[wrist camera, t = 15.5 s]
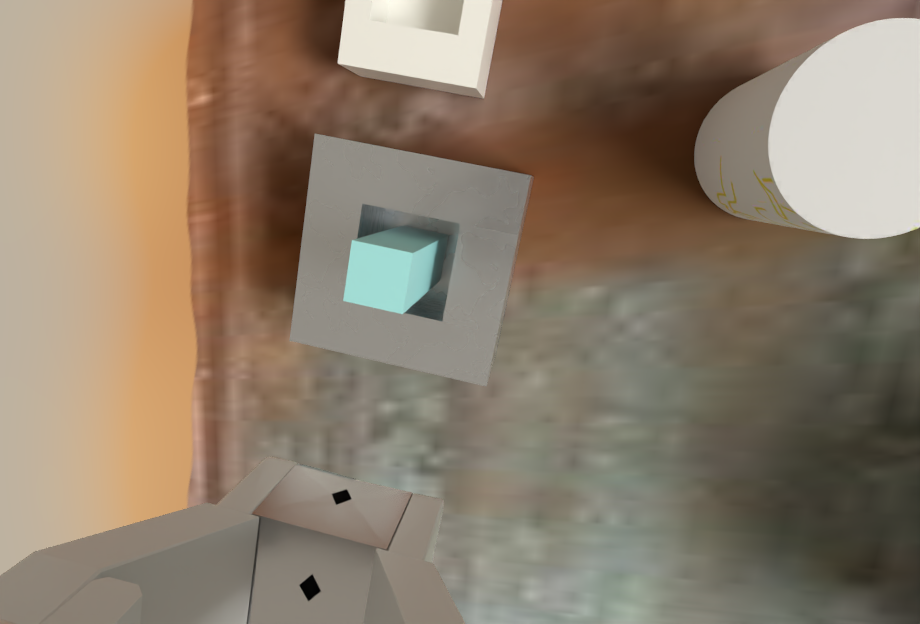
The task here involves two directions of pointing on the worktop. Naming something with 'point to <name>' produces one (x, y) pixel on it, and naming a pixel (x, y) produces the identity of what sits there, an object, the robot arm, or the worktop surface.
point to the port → (424, 207)
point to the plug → (394, 267)
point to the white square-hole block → (421, 42)
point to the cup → (823, 137)
